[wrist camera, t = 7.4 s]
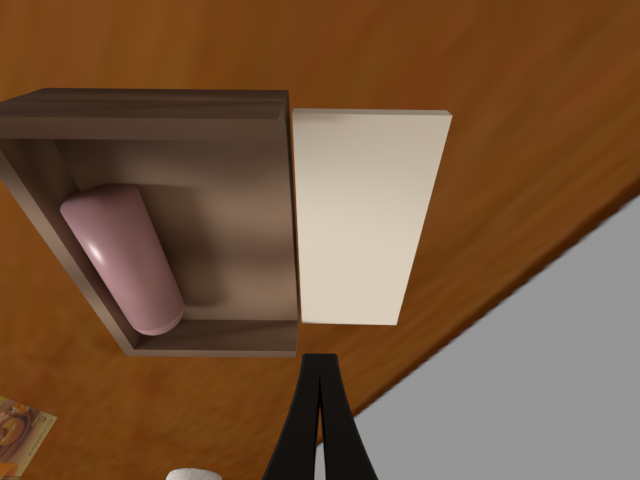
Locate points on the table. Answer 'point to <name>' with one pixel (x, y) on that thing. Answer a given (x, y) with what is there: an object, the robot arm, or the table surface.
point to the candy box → (20, 436)
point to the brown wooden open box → (172, 203)
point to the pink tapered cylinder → (126, 254)
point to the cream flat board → (362, 207)
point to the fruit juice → (193, 474)
